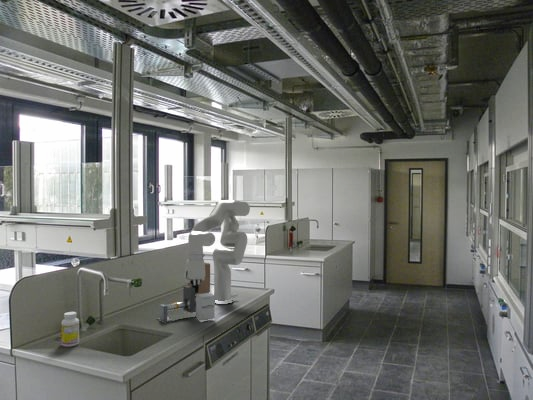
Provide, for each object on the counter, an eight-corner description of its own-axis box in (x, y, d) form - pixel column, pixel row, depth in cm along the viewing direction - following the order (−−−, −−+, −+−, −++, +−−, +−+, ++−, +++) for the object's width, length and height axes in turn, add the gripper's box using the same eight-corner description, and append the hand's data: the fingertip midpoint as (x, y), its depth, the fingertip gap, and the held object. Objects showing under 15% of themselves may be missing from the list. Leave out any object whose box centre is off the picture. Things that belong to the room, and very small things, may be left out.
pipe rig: (195, 311, 231) (195, 297, 231) (203, 315, 225) (203, 299, 225) (156, 319, 216) (156, 303, 216) (164, 322, 210) (164, 306, 210)
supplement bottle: (64, 341, 182) (65, 311, 182) (81, 341, 183) (81, 310, 183) (58, 347, 176) (58, 315, 176) (75, 347, 176) (75, 315, 176)
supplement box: (200, 323, 211) (200, 296, 211) (195, 319, 218) (195, 293, 217) (215, 321, 214) (215, 295, 214) (209, 317, 221) (210, 292, 221)
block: (210, 295, 268) (210, 263, 268) (198, 298, 260) (198, 265, 260) (199, 293, 274) (199, 261, 274) (187, 296, 266) (187, 263, 266)
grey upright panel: (187, 309, 227) (187, 285, 227) (194, 312, 222) (195, 288, 222) (183, 309, 226) (183, 286, 226) (190, 312, 220) (190, 288, 220)
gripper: (203, 255, 233) (203, 289, 234) (179, 257, 224) (178, 293, 224) (211, 256, 228) (211, 292, 228) (186, 259, 218) (186, 295, 218)
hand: (195, 292), depth 226 cm, fingers closed
